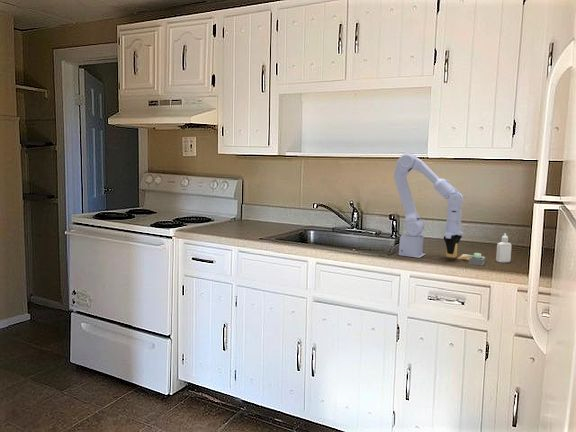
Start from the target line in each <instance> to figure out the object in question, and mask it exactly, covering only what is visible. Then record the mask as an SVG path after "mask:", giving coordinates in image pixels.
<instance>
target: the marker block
mask: <svg viewBox="0 0 576 432" xmlns="http://www.w3.org/2000/svg"><path fill="white" fill-rule="evenodd" d="M457 245H458V246H459V243H456V244H455V248H454V252H453V254H448V253H447V247H446V250H445V257H447V258H457V256H458V255H457V254H458V246H457Z"/></svg>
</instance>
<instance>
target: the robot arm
mask: <svg viewBox="0 0 576 432" xmlns="http://www.w3.org/2000/svg"><path fill="white" fill-rule="evenodd" d="M395 166H396V167H395V169H394V173H393V178H394V179H393V180H394V181H395V185H396V189H397V191H398V195H399V198H400V202H401V205H402V207H403V208H402V209H403V212H404V214H405V215H404V216H405V217H404V219H405V220H404V221H405V224H406V226H405V231H406V233H402V234H401V235H400V238H399V243H398V244H399V247H398V249H399V250H398V256H403V257H409V258H410V257H411V258H415V259H417V258H418V259H420V258H422V257H423V256H425V255H426V253H424V252H423V247H424V246H423V245H424V234H423V231H424V229H425V224H424V221H423V220H422V219H421V218H420V215H419V213H418V210H417V208H416V204H415V201H414V199H413V194H412V192H411V188H410V186H409V185H410V184H409V182H408V178H407V176H408V175H409V173H410V172H411V171H412V170H413V171H417V172H419V173H422V175H424V177H426V178H427V179H428V180H429V181H430V182H431V183H433V189H434V190H435V191H436V192H437V193H438V194H439V195H441V196H442V197H443V198H444V199H446V202H447V205H448V207H447V210H446V211H447V214H446V227H445V231H444V232H445V235H444V236H443V240H444V242H445V245H446V246H445V247H446V248H447V253H448V254H453V252H454V248H455V244H456V243H458V245H457V247H458V246H459V243H460V241H461V239H462V238H463V235H464V232H463V231H461V230H462V215H463V210H462V209H463V205H462V203H463V202H464V196H463V193H461V192H460V191H458V188H455V187H454V186H453V185H452V184H451V183H450V180H449V179H445V178H440V177H439V176H438V175H437V174H436V173H435V172H434V171H433V170H432V169H431V168H430V167H429V166H428V164H426V163H425V162H424V161H423V160H421V159H420V158H419V157H417V155H415V154H413V153H403V154H402V155H401V156H400V157H399V158H398V159H397V161H396V165H395Z"/></svg>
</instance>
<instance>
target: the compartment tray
mask: <svg viewBox="0 0 576 432" xmlns="http://www.w3.org/2000/svg"><path fill="white" fill-rule="evenodd" d="M472 256H474V254H466V253H465V254H464V253H463V254H461V255H459V256H458V257H456V260H458V261H463V262H464V261H466V262H469V258H470V257H472ZM481 257H484V258H485V260H486V259H487V257H486V256H482V255H481Z"/></svg>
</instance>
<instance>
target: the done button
mask: <svg viewBox="0 0 576 432" xmlns="http://www.w3.org/2000/svg"><path fill="white" fill-rule="evenodd" d="M473 255H474V258H475V259H481V256H482V253H480V252H474V253H473Z"/></svg>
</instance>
